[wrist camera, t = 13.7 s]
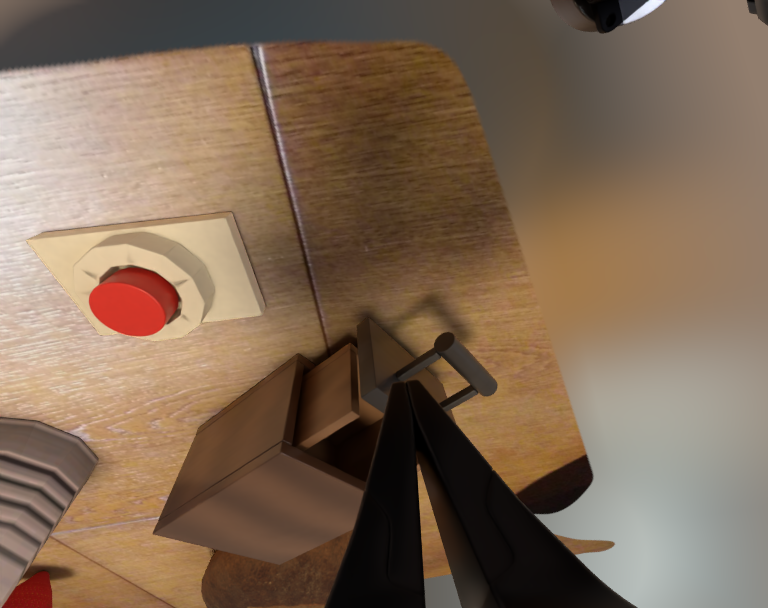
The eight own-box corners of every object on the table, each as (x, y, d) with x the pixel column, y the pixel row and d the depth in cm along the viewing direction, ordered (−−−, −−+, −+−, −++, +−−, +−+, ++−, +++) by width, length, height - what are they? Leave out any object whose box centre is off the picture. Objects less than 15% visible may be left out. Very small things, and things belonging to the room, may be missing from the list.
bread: (358, 580, 58) (360, 649, 51) (201, 580, 50) (177, 662, 43) (427, 511, 44) (443, 591, 37) (226, 495, 36) (197, 594, 29)
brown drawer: (419, 278, 21) (446, 342, 16) (487, 356, 27) (526, 425, 21) (258, 397, 26) (234, 478, 21) (341, 443, 31) (341, 519, 26)
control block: (231, 211, 18) (214, 228, 16) (266, 306, 22) (256, 332, 20) (42, 232, 18) (-7, 253, 16) (111, 325, 22) (81, 354, 19)
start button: (161, 263, 17) (144, 278, 16) (189, 315, 19) (177, 332, 18) (94, 271, 17) (71, 287, 16) (130, 322, 19) (112, 341, 18)
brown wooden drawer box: (298, 353, 25) (280, 452, 18) (385, 413, 31) (398, 508, 24) (198, 427, 29) (151, 534, 22) (292, 469, 35) (279, 565, 28)
